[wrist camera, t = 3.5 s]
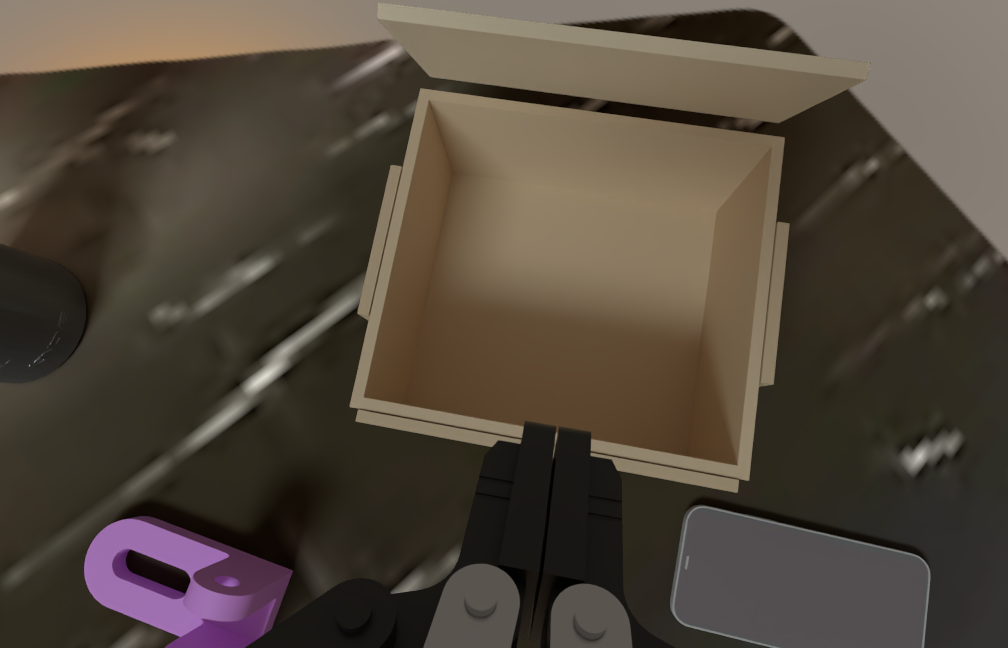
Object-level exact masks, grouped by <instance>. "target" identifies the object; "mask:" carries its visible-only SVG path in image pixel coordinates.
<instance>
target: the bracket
mask: <svg viewBox="0 0 1008 648" xmlns="http://www.w3.org/2000/svg"><path fill="white" fill-rule="evenodd" d="M130 549H131V550H134V551H137V552H139V553H142V554H144V555H147V556H149V557H152V558H155V559H157V560H160V561H162V562H165V563H167V564H170V565H172V566H175V567H178V568H180V569H183V570H185V571H186V572H187V573H188V574H189V576H190V579H191V582H190V585H189V587H188V590H187V592H186V594H185V593H182V592H179V591H177V590H174V589H172V588H169V587H167V586H164V585H162V584H159V583H157V582H154V581H152V580H149V579H146V578H144V577H141V576H139V575H136V574H134V573H132V572H130V571H129V570H128V568H127V566H126V556H127V554H128V552H129V551H130ZM292 572H293V570H290V569H287V568H285V567H282V566H280V565H277V564H274V563H272V562H269V561H266V560H264V559H261V558H259V557H256V556H253V555H251V554H248V553H246V552H243V551H240V550H238V549H235V548H232V547H230V546H227V545H225V544H222V543H219V542H217V541H214V540H211V539H209V538H206V537H204V536H201V535H198V534H196V533H193V532H190V531H188V530H185V529H183V528H180V527H177V526H175V525H172V524H170V523H167V522H164V521H162V520H159V519H156V518H153V517H149V516H138V517H133V518H129V519H124V520H120V521H117V522H115V523H112V524H111V525H109V526H107V527H106V528H104V529H103V530H102V531H101V532H100V533H99V534H98V535H97V536H96V537H95V539H94V540H93V542H92V543H91V545H90V547H89V550H88V552H87V555H86V559H85V566H84V573H85V580H86V583H87V586H88V589H89V591H90V592H91V594H92V595H93V597H94V598H95V599H96V600H97V601H98V602H99V603H101V604H102V605H104V606H106V607H108V608H110V609H113V610H115V611H118V612H120V613H123V614H125V615H128V616H130V617H133V618H135V619H138V620H140V621H143V622H145V623H148V624H150V625H152V626H155V627H157V628H160V629H162V630H165V631H167V632H170V633H172V634H175V635H177V636H180V638H178V639H177V640H175V641H173V642H172V643H170V644H169V645H167V646H166V647H165V648H245V647H246V646H248V645H249V644H251V643H252V642H254V641H255V640H257V639H258V638H260V637H261V636H263V635H264V634H266V633H267V632H268V631H270V630H271V629H272V626H273V624H274V621H275V618H276V615H277V613H278V610H279V607H280V605H281V602H282V599H283V596H284V594H285V591H286V588H287V586H288V583H289V580H290V578H291V575H292Z"/></svg>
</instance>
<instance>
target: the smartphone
mask: <svg viewBox="0 0 1008 648" xmlns="http://www.w3.org/2000/svg"><path fill="white" fill-rule="evenodd" d="M929 587H930V570H929V567H928V565H927V563H926V562H925V561H924V560H923V559H922V558H921V557H919V556H917V555H914V554H912V553H909V552H905V551H901V550H897V549H892V548H888V547H884V546H879V545H875V544H871V543H866V542H862V541H858V540H853V539H849V538H845V537H840V536H836V535H832V534H827V533H823V532H819V531H814V530H810V529H806V528H801V527H797V526H793V525H788V524H784V523H780V522H777V521H774V520H769V519H765V518H761V517H756V516H752V515H748V514H747V515H745V514H741V513H736V512H732V511H728V510H724V509H719V508H715V507H711V506H706V505H695V506H692V507H691V508H689V509H688V510H687V512H686V514H685V516H684V519H683V525H682V531H681V537H680V543H679V550H678V556H677V562H676V568H675V574H674V580H673V587H672V593H671V599H670V607H671V610H672V613H673V615H674V616H675V617H676V619H677V620H678V621H679V622H680V623H681V624H683V625H685V626H688V627H691V628H695V629H699V630H703V631H707V632H711V633H715V634H719V635H723V636H728V637H732V638H736V639H740V640H744V641H748V642H752V643H756V644H760V645H764V646H768V647H772V648H924V639H925V629H926V618H927V608H928V597H929Z"/></svg>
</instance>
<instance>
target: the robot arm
mask: <svg viewBox="0 0 1008 648" xmlns="http://www.w3.org/2000/svg"><path fill="white" fill-rule="evenodd" d="M85 322H86V302H85V296H84V293H83V290H82V288H81V286H80V283H79V282H78V281H77V279H76V278H75V277H74V275H73V274H72V273H71V272H69V271H68V270H67V269H66V268H65V267H63V266H61V265H59V264H57V263H55V262H53V261H50V260H47V259H44V258H41V257H38V256H35V255H32V254H29V253H26V252H23V251H20V250H17V249H14V248H11V247H8V246H6V245H3V244H0V382H4V383H24V382H29V381H34V380H36V379H39V378H41V377H43V376H46V375H48V374H49V373H51V372H52V371H54V370H55V369H57V368H58V367H59V366H60V365H61V364H62V363H63V362H64V361H65V360H66V359H67V358H68V357H69V356H70V355H71V353H72V352H73V350H74V349H75V348H76V346H77V344H78V342H79V340H80V338H81V336H82V334H83V330H84V326H85ZM555 435H556V426H554V425H548V424H542V423H536V422H530V421H525V423H524V428H523V434H522V439H521V444H518V443H513V442H507V441H501V440H498V441H497V442H496V443H495V444H494V446H493V447H492V448H491V449H490V450H489V451H488V453H487V454H486V455H485V456H484V460H483V464H482V468H481V472H480V477H479V480H478V484H477V488H476V493H475V496H474V500H473V504H472V508H471V512H470V516H469V520H468V524H467V528H466V532H465V536H464V540H463V544H462V548H461V552H460V556H459V559H458V562H457V564H456V566H455V567H454V569H453V570H452V572H451V573H450V574H449V575H448V576H447V577H446V578H445V579H443V580H442V581H441V582H439V583H438V584H436V585H434V586H432V587H429V588H426V589H422V590H417V591H410V592H403V593H396V594H391V593H390V592H389V590H388V589H387V588H386V587H385V586H383V585H382V584H380V583H379V582H376V581H374V580H370V579H363V578H359V579H352V580H347V581H345V582H342V583H340V584H338V585H337V586H335V587H333V588H332V589H330V590H329V591H327V592H326V593H324V594H323V595H322V596H320V597H319V598H317V599H316V600H314V601H313V602H311V603H310V604H308V605H307V606H305V607H304V608H302V609H301V610H299V611H298V612H296V613H295V614H294V615H292V616H291V617H289V618H288V619H286V620H285V621H283V622H282V623H280V624H279V625H277V626H276V627H274V628H273V629H271V630H270V631H268V632H267V633H266V634H264V635H263V636H261V637H260V638H258V639H257V640H255V641H254V642H252V643H251V644H249V645H248V646H246V647H245V648H516V647H517V641H518V638H519V639H524V640H526V638H527V633H528V628H529V623H530V618H531V612H532V607H533V602H534V608H533V616H532V624H531V632H530V641H535V642H540V648H675V647H673V646H671V645H669V644H667V643H666V642H664V641H662V640H660V639H658V638H657V637H655V636H654V635H652V634H650V633H649V632H648V631H647V630H645V629H644V628H643V627H642V626H641V625H640V624H639V623H638V622H637V620H636V619H635V618H634V616H633V615H632V613H631V612H630V610H629V608H628V606H627V603H626V601H625V597H624V591H623V543H622V505H621V504H622V479H621V477H620V475H619V473H618V471H617V469H616V467H615V465H614V463H613V461H612V459H606V458H600V457H594V456H591V432H590V431H584V430H578V429H572V428H566V427H560V426H559V429H558V434H557V440H556V445H555V451H554V444H555ZM553 452H554V456H553ZM534 597H535V599H534Z"/></svg>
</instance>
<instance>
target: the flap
mask: <svg viewBox="0 0 1008 648" xmlns="http://www.w3.org/2000/svg"><path fill="white" fill-rule="evenodd" d="M377 19H378V20H379V21H380V22H381V24H382V25H383V26H384V27H385V28H386V29H387V30H388V31H389V32H390V33H391V34H392V36H393V37H394V38H395V39H396V40H397V41H398V42H399V43H400V44H401V45H402V47H403V48H404V49H405V50H406V51H407V52H408V53H409V54H410V55H411V56H412V57H413V59H414V60H415V61H416V62H417V63H418V64H419V65H420V66H421V67H422V68H423V69H424V71H425V72H426V73H427V74H428V75H429V76H430V77H435V78H442V79H450V80H458V81H465V82H473V83H480V84H488V85H495V86H503V87H510V88H518V89H525V90H533V91H540V92H548V93H556V94H563V95H571V96H578V97H586V98H593V99H601V100H608V101H616V102H623V103H631V104H638V105H646V106H654V107H661V108H669V109H676V110H684V111H691V112H699V113H706V114H714V115H721V116H729V117H736V118H744V119H752V120H759V121H767V122H774V123H780V122H782V121H784V120H786V119H788V118H790V117H792V116H794V115H796V114H798V113H800V112H802V111H804V110H806V109H808V108H810V107H812V106H814V105H816V104H818V103H820V102H822V101H825V100H827V99H829V98H831V97H833V96H835V95H837V94H839V93H841V92H843V91H845V90H847V89H849V88H851V87H853V86H855V85H857V84H859V83H861V82H863V81H865V80H866V79H867V75H868V71H869V67H870V63H868V62H859V61H851V60H843V59H834V58H827V57H819V56H810V55H802V54H794V53H786V52H778V51H770V50H761V49H753V48H745V47H737V46H729V45H721V44H712V43H704V42H696V41H688V40H680V39H672V38H663V37H655V36H647V35H639V34H631V33H623V32H614V31H606V30H598V29H590V28H582V27H573V26H565V25H557V24H549V23H541V22H532V21H523V20H516V19H508V18H500V17H492V16H483V15H475V14H467V13H458V12H450V11H443V10H434V9H426V8H418V7H410V6H402V5H393V4H386V3H379V4H378V13H377Z"/></svg>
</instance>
